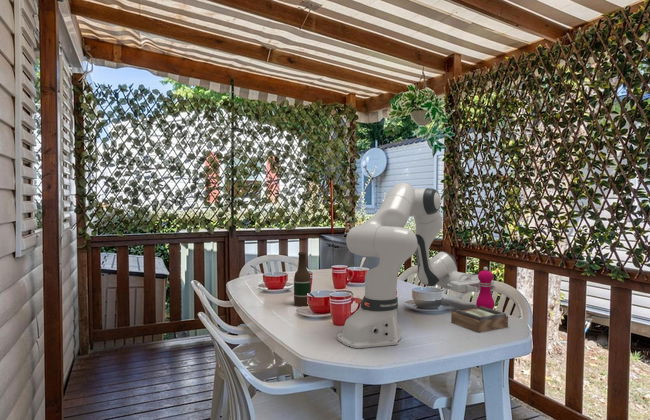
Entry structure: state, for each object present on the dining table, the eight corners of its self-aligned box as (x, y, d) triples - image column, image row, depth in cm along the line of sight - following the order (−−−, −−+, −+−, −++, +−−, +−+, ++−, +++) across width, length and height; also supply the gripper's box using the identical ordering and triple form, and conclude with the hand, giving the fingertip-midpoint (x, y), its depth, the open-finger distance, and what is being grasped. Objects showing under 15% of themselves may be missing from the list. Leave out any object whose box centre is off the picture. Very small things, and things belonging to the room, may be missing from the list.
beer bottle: (304, 307, 195) (304, 253, 194) (290, 305, 199) (290, 252, 198) (314, 304, 201) (314, 251, 201) (300, 301, 206) (300, 250, 205)
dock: (478, 332, 159) (478, 318, 159) (451, 322, 172) (451, 309, 172) (507, 326, 166) (508, 313, 166) (479, 317, 179) (480, 305, 178)
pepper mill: (495, 317, 179) (496, 268, 178) (477, 316, 180) (477, 267, 180) (492, 312, 186) (493, 265, 185) (474, 311, 187) (475, 265, 187)
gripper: (443, 277, 190) (467, 283, 178) (479, 274, 199) (503, 279, 187) (443, 292, 190) (467, 298, 178) (478, 287, 199) (503, 293, 187)
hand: (486, 288), depth 182 cm, fingers open, 8 cm apart
